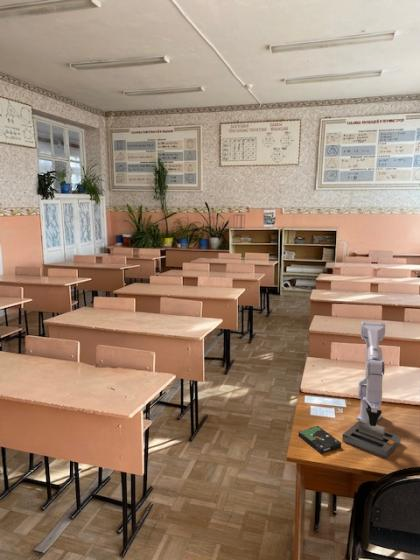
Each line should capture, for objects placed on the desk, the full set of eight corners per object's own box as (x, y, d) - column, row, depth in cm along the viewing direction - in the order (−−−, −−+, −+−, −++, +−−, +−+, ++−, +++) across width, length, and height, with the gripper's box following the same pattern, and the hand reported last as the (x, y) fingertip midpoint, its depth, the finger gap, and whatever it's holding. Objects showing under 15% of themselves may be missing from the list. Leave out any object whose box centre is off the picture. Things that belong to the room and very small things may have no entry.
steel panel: (359, 434, 177) (360, 419, 176) (384, 443, 170) (385, 427, 169) (358, 436, 176) (359, 420, 175) (382, 445, 169) (383, 429, 168)
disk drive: (341, 448, 170) (317, 430, 183) (341, 442, 169) (317, 424, 183) (321, 455, 166) (297, 436, 179) (321, 449, 165) (297, 430, 178)
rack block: (357, 427, 184) (357, 420, 184) (400, 443, 172) (400, 436, 171) (342, 441, 174) (342, 433, 174) (386, 458, 162) (387, 450, 161)
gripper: (362, 380, 177) (361, 411, 179) (363, 395, 163) (362, 428, 166) (381, 382, 175) (379, 413, 177) (383, 398, 161) (381, 431, 164)
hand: (372, 420), depth 171 cm, fingers open, 7 cm apart
